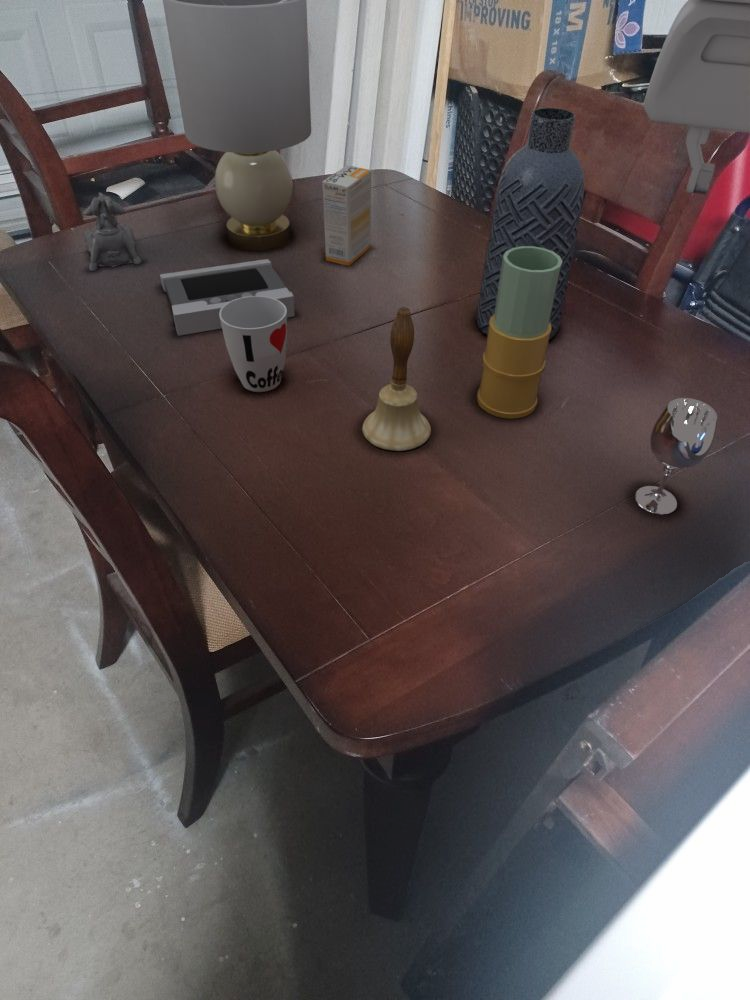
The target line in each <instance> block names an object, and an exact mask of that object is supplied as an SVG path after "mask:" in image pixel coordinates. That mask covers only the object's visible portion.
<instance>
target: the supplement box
mask: <svg viewBox="0 0 750 1000" xmlns="http://www.w3.org/2000/svg"><path fill="white" fill-rule="evenodd" d="M321 184H322V198H323V222H324V243H325V245H324V246H325V247H324V248H325V261H326V262H331V263H335V264H338V265H342V266H347V267H350V266H351V265H353V264H354V263H355V262H356V261H357V260H358V259H360V257H362V256H363V255H364V254H365V253H366V252H368V250H370V249H371V247H372V170H371V169H368V168H363V167H360V166H359V167H358V166H355V165H349V164H347V165H344V167H342V168H341V169H339V170H337V171H336V172H334V173H333V174H331V175H330V176H328V177H327V178H325V179H324V180H323V181H322V183H321Z"/></svg>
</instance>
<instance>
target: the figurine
mask: <svg viewBox="0 0 750 1000" xmlns="http://www.w3.org/2000/svg"><path fill="white" fill-rule="evenodd" d="M125 214H127V209H126V208H124V207H123V206H122V205H120V204H119V203H118V202H116V201H114V200H112V198H111V197H110V196H108V195H105V194H104V193H102V192H100V191H99V192H98V196H97V197H93V198H92V199H91V201H90V205H88V206H87V208H85V210H83V211H82V215H84V216H86V217H92V216H95V217H96V222H95V226H94V228H93V229H92V230H85V231H84V233H83V239H84V241H85V243H86V244H85V246H86V248H87V250H88V253H89V255H90V258H89V259H90V261H89V262H90V263H89V265H88V270H89V271H90V272H93V271H96V270H98V269H99V267H118V266H120V265H127V264H133V265H140V264H142V263H143V261H142V259H141V257H140V256H139V255H138V253H137V251H136V240H135V234H134V231H133V229H132V228H131V227H130V226H128V225H125V226H123V227H122V225H120V224H119V222H118V219H117V216H115V215H125Z"/></svg>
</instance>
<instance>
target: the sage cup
mask: <svg viewBox="0 0 750 1000" xmlns="http://www.w3.org/2000/svg"><path fill="white" fill-rule="evenodd" d="M561 266H562V259H561V257H560V256H559V255H558V254H556V253H555V252H553V251H550V250H548V249H545V248H540V247H535V246H520V247H515V248H511V249H510V250H508V251H506V252H505V254H504V255H503V260H502V267H501V274H500V280H499V287H498V294H497V300H496V307H495V314H494V325H495V327H496V328H497V329H498V330H499V331H501V332H502V333H504V334H506V335H509V336H513V337H517V338H534V337H538V336H540V335H542V334H544V333H545V332H546V331H547V329H548V326H549V323H550V318H551V314H552V309H553V304H554V299H555V295H556V290H557V285H558V281H559V276H560V271H561Z"/></svg>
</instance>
